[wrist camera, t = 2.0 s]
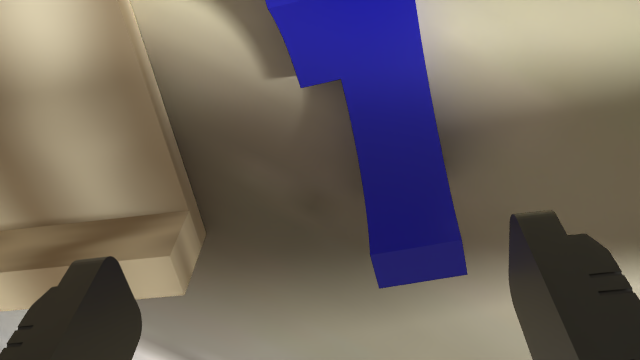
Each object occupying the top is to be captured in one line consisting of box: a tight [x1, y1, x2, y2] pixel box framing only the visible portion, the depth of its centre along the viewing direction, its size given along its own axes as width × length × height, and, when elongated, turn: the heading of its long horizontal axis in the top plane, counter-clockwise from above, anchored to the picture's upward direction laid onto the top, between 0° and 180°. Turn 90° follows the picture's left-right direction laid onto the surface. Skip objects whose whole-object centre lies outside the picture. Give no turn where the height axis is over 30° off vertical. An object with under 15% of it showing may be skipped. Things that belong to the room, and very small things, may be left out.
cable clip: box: [265, 0, 467, 288], centre depth 19 cm, size 12×4×6 cm, turn 15°
